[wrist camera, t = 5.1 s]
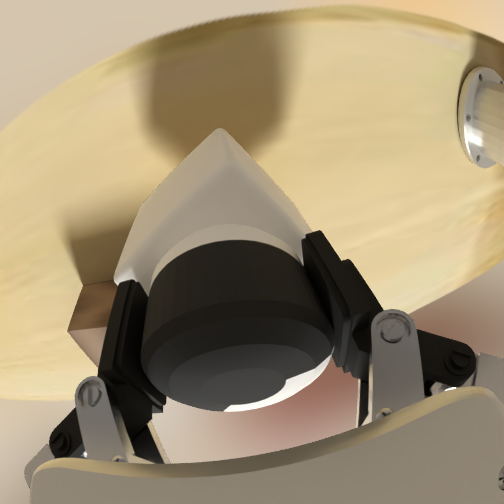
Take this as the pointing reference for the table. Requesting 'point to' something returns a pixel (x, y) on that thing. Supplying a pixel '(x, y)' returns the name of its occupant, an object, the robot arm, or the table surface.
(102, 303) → the walnut box
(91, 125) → the table surface
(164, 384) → the medicine bottle
